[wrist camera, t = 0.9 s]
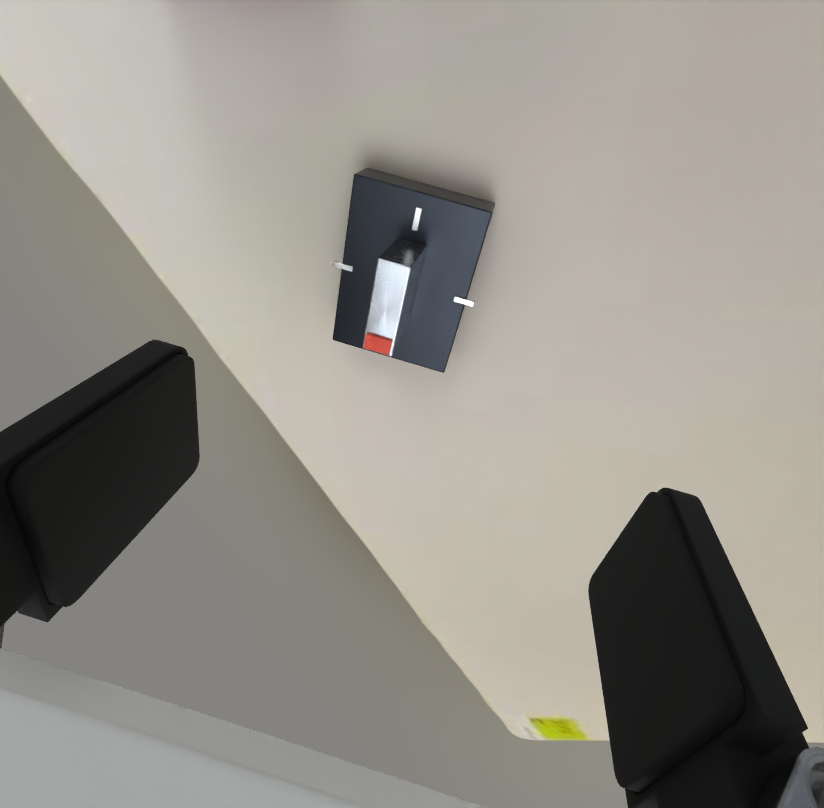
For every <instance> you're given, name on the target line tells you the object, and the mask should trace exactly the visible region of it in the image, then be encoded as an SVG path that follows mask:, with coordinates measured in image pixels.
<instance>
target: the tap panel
mask: <svg viewBox="0 0 824 808" xmlns="http://www.w3.org/2000/svg"><path fill="white" fill-rule="evenodd" d="M494 206H495V203H493V202H489V201H485V200H482V199H478V198H475V197H471V196H467V195H464V194H460V193H457V192H453V191H449V190H446V189H442V188H439V187H435V186H431V185H428V184H424V183H421V182H417V181H413V180H410V179H406V178H403V177H399V176H395V175H392V174H388V173H385V172H381V171H378V170H374V169H370V168H366V169H364V170H362V171H360V172H358V173H355V174H354V179H353V187H352V195H351V203H350V210H349V218H348V226H347V233H346V241H345V249H344V257H343V263H340V262H337V261H333V266H334V267H337V268H341V269H342V272H341V280H340V287H339V295H338V303H337V311H336V318H335V326H334V334H333V340H335V341H339V342H342V343H345V344H349V345H352V346H355V347H359V348H362V349H364V348H363V342H364V336H365V330H366V325H367V319H368V313H369V307H370V302H371V296H372V290H373V284H374V279H375V273H376V267H377V261H378V258H379V257H380V256H381V255H382V254H383V253H384V252H385V251H386V250H387V249H388V247H389V246H390V245H391V244H392V243H393V242H394V241H395V240H396V239H397V238H398V237H400V238H403V239H407V240H410V241H414V242H417V243H421V244H424V245H426V250H425V254H424V259H423V263H422V267H421V272H420V276H419V280H418V285H417V289H416V293H415V298H414V302H413V306H412V311H411V315H410V319H409V324H408V326H407V328H406V330H405V332H404V334H403V336H402V338H401V340H400V342H399V344H398V346H397V347H396V349H395V351H394V353H393V355H392V356H389V357H392V358H396V359H399V360H402V361H406V362H409V363H413V364H416V365H419V366H423V367H426V368H429V369H433V370H436V371H439V372H443V373H444V372H445V368H446V365H447V362H448V359H449V355H450V352H451V349H452V345H453V342H454V339H455V335H456V332H457V329H458V325H459V322H460V319H461V315H462V312H463V309H464V305H468V306H472V307H473V306H474V302H475V301H471V300H468V299H467V295H468V292H469V289H470V286H471V282H472V279H473V276H474V272H475V269H476V266H477V262H478V259H479V256H480V252H481V249H482V246H483V242H484V239H485V236H486V232H487V229H488V226H489V222H490V219H491V216H492V212H493V209H494ZM366 350H368V349H366ZM369 351H371V350H369ZM372 352H374V351H372ZM376 353H378V352H376ZM379 354H381V353H379ZM382 355H384V354H382ZM386 356H388V355H386Z"/></svg>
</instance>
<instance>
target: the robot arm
mask: <svg viewBox="0 0 824 808" xmlns="http://www.w3.org/2000/svg"><path fill="white" fill-rule="evenodd" d="M198 463H199V438H198V421H197V402H196V384H195V367H194V361H193V359H192V358H191V357H189V356H188V353H187V351H186V349H184V348H183V347H180V346H176V345H173V344H169V343H166V342H162V341H159V340H152V341H149V342H148V343H146V344H144V345H143V346H141V347H139V348H138V349H136V350H135V351H133V352H131V353H130V354H128V355H126V356H125V357H123V358H121V359H120V360H118V361H116V362H115V363H113V364H111V365H110V366H108V367H107V368H105V369H103V370H102V371H100V372H98V373H97V374H95V375H93V376H92V377H90V378H88V379H87V380H85V381H83V382H82V383H80V384H78V385H77V386H75V387H74V388H72V389H70V390H69V391H67V392H65V393H64V394H62V395H61V396H59V397H57V398H55V399H54V400H52V401H50V402H49V403H47V404H46V405H44V406H42V407H41V408H39V409H37V410H36V411H34V412H32V413H31V414H29V415H28V416H26V417H24V418H23V419H21V420H19V421H18V422H16V423H14V424H13V425H11V426H9V427H8V428H6V429H4V430H3V431H1V432H0V808H486V807H483V806H480V805H477V804H474V803H471V802H468V801H465V800H462V799H459V798H456V797H453V796H450V795H447V794H444V793H441V792H438V791H435V790H432V789H429V788H426V787H423V786H420V785H417V784H415V783H412V782H408V781H405V780H403V779H400V778H396V777H394V776H391V775H388V774H384V773H381V772H378V771H375V770H372V769H369V768H366V767H363V766H360V765H357V764H354V763H351V762H348V761H345V760H342V759H339V758H336V757H333V756H330V755H327V754H324V753H321V752H318V751H315V750H312V749H309V748H306V747H303V746H300V745H297V744H294V743H291V742H288V741H285V740H282V739H278V738H276V737H272V736H270V735H267V734H264V733H260V732H258V731H255V730H251V729H248V728H245V727H242V726H239V725H236V724H233V723H230V722H227V721H224V720H221V719H218V718H215V717H212V716H209V715H206V714H203V713H200V712H196V711H194V710H191V709H188V708H185V707H182V706H179V705H175V704H172V703H169V702H166V701H163V700H160V699H157V698H154V697H151V696H148V695H144V694H142V693H138V692H135V691H132V690H129V689H126V688H123V687H120V686H117V685H114V684H111V683H107V682H105V681H101V680H98V679H95V678H92V677H89V676H86V675H83V674H80V673H77V672H74V671H71V670H67V669H65V668H61V667H58V666H55V665H52V664H49V663H46V662H43V661H40V660H37V659H34V658H31V657H27V656H24V655H21V654H18V653H14V652H11V651H8V650H4V649H1V646H2V639H3V631H4V623H5V622H6V621H7V620H8V619H9V618H10V617H11V616H12V615H13V614H14V613H15V612H16V611H18V613H20V614H23V615H27V616H30V617H33V618H36V619H39V620H42V621H45V622H49V621H50V619H51V618H52V617H53V616H54V615H55V614H56V613H57V612H58V611H59V610H60V609H61V608H62V607H63V606H64V607H67V606H70V605H72V604H73V603H75V602H76V601H77V600H78V599H79V598H80V597H81V596H82V595H83V594H84V592H86V590H87V589H88V588H89V587H90V586H91V585H92V584H93V583H94V582H95V580H96V579H97V578H98V577H99V576H100V575H101V574H102V573H103V572H104V571H105V570H106V569H107V567H108V566H109V565H110V564H111V563H112V562H113V561H114V560H115V559H116V558H117V556H118V555H119V554H120V553H121V552H122V551H123V550H124V549H125V548H126V547H127V546H128V544H129V543H130V542H131V541H132V540H133V539H134V538H135V537H136V536H137V535H138V533H139V532H140V531H141V530H142V529H143V528H144V527H145V526H146V525H147V524H148V523H149V521H150V520H151V519H152V518H153V517H154V516H155V515H156V514H157V513H158V512H159V510H160V509H161V508H162V507H163V506H164V505H165V504H166V503H167V502H168V500H169V499H170V498H171V497H172V496H173V495H174V494H175V493H176V492H177V491H178V490H179V488H180V487H181V486H182V485H183V484H184V483H185V482H186V481H187V480H188V479H189V477H190V476H191V475H192V474H193V473H194V472H195V470H196V468H197V466H198ZM589 600H590V607H591V614H592V621H593V628H594V635H595V641H596V648H597V655H598V662H599V669H600V676H601V683H602V690H603V696H604V703H605V710H606V717H607V724H608V731H609V738H610V745H611V751H612V758H613V765H614V772H615V776H616V779H617V782H618V783H619V785H620V786H621V787H623V788H625V791H626V797H627V804H628V808H824V749H823V748H819V747H815V748H810V749H809V747H808V745H807V742H806V740H805V738H804V736H803V733H802V732H803V731H805V730H806V729H808V727H807V725H806V723H805V721H804V719H803V717H802V714H801V712H800V710H799V708H798V706H797V704H796V702H795V700H794V697H793V695H792V693H791V691H790V689H789V687H788V685H787V683H786V681H785V678H784V676H783V674H782V672H781V670H780V668H779V666H778V664H777V662H776V659H775V657H774V655H773V653H772V651H771V649H770V647H769V645H768V642H767V640H766V638H765V636H764V634H763V632H762V630H761V628H760V626H759V623H758V621H757V619H756V617H755V615H754V613H753V611H752V609H751V606H750V604H749V602H748V600H747V598H746V596H745V594H744V592H743V590H742V587H741V585H740V583H739V581H738V579H737V577H736V575H735V573H734V570H733V568H732V566H731V564H730V562H729V560H728V558H727V556H726V554H725V551H724V549H723V547H722V545H721V543H720V541H719V539H718V537H717V535H716V532H715V530H714V528H713V526H712V524H711V522H710V520H709V518H708V515H707V513H706V511H705V509H704V507H703V505H702V503H701V501H700V500H699V498H698V497H696V496H694V495H690V494H687V493H684V492H680V491H677V490H673V489H670V488H662V489H660V490H659V491H658V492H650V493H649V494H648V495H647V496H646V497H645V499H644V500H643V502H642V503H641V505H640V506H639V508H638V509H637V511H636V512H635V514H634V515H633V517H632V518H631V519H630V521H629V522H628V524H627V525H626V527H625V528H624V530H623V531H622V533H621V534H620V536H619V537H618V539H617V540H616V541H615V543H614V544H613V546H612V547H611V549H610V550H609V552H608V553H607V555H606V556H605V558H604V559H603V561H602V562H601V563H600V565H599V566H598V568H597V569H596V571H595V572H594V574H593V575H592V577H591V580H590V583H589Z"/></svg>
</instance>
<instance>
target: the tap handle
mask: <svg viewBox="0 0 824 808" xmlns="http://www.w3.org/2000/svg"><path fill="white" fill-rule="evenodd" d="M425 250H426V245H424V244H421V243H417V242H414V241H410V240H407V239H403V238H400V237H398V238H397V239H396V240H395V241H394V242H393V243H392V244H391V245H390V246H389V247H388V249H387V250H386V251H385V252H384V253H383V254H382V255H381V256H380V257H379V258H378V261H377V267H376V273H375V279H374V284H373V290H372V296H371V302H370V307H369V313H368V319H367V325H366V330H365V336H364V342H363V348H364V349H368V350H371V351H374V352H378V353H381V354H384V355H388V356H392V355H393V353H394V351H395V349H396V347H397V346H398V344H399V342H400V340H401V338H402V336H403V334H404V332H405V330H406V328H407V326H408V324H409V319H410V315H411V311H412V306H413V302H414V298H415V293H416V289H417V285H418V280H419V276H420V272H421V267H422V263H423V259H424V254H425Z"/></svg>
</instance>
